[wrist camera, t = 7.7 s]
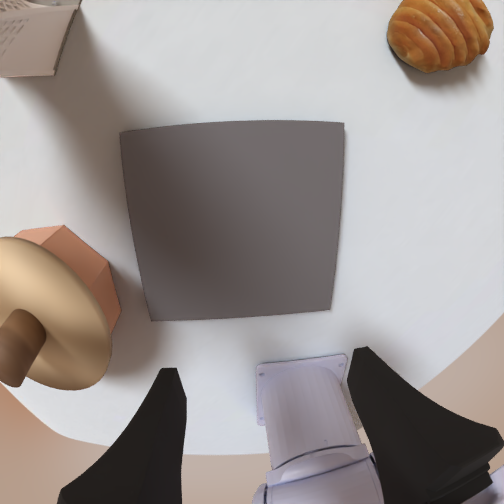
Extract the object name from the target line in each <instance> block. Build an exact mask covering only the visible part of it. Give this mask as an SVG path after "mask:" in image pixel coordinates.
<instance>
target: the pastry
mask: <svg viewBox="0 0 504 504" xmlns="http://www.w3.org/2000/svg"><path fill="white" fill-rule="evenodd" d="M493 29H494V27H493V20H492V18H491V15H490V13H489V11H488V9H487V7H486V6H485V4H484V2H483V1H482V0H403V1H402V2H401V4H400V5H399V7H398V9H397V10H396V11H395V13H394V14H393V16H392V17H391V19H390V21H389V25H388V31H387V39H388V43H389V45H390V46H391V47H392V49H393V50H394V52H395V53H396V54H397V56H398V57H399V58H400V59H401V60H402V61H404V62H405V63H407V64H409V65H410V66H412V67H415V68H417V69H419V70H421V71H423V72H425V73H430V72H435V71H437V70H450V69H451V68H453V67H457V66H467V65H468V64H469V63H471V62H472V61H473V60H474V58H475V57H476V56H477V55H478V54H481V55H482V54H485V52H486V51H487V49H488V47H489V44H490V41H489V39H490V36H491V33H492V31H493Z"/></svg>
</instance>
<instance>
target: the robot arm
mask: <svg viewBox="0 0 504 504" xmlns="http://www.w3.org/2000/svg"><path fill="white" fill-rule="evenodd" d="M340 363H341V364H340ZM346 363H347V357H346V355H344V354H341V355H334V356H327V357H320V358H313V359H305V360H296V361H287V362H277V363H266V364H259V365H257V367H256V395H257V424H258V425H260V426H264V425H265V426H266V433H267V439H268V446H269V453H270V460H271V467H272V471H269V472H266V479H267V483H265V484H261V485H260V486H259V487H258V489H257V491H256V492H255V494H254V496H253V500H252V504H504V465H503V466H501V467H500V468H498V469H497V470H495V471H494V472H493V473H492V474H490V475H489V473H488V470H489V469H490V466H489V464H488V462H489V461H490V460H491V459H492V458H493V457H494V456H495V455H496V454H497V453H498V452H499V451H500V450H501V449H502V448H503V446H504V440H503V439H502V437H501V436H500V434H499V432H498V430H497V429H496V428H493V427H490V426H486V425H483V424H480V423H476V422H474V421H471V420H469V419H466V418H464V417H462V416H460V415H457V414H455V413H453V412H451V411H449V410H447V409H446V408H444V407H442V406H440V405H438V404H437V403H435V402H434V401H432V400H431V399H429V398H427V397H426V396H424V395H423V394H422V393H420V392H419V391H418V390H416V389H415V388H414V387H412V386H411V385H410V384H409V383H407V382H406V381H405V380H404V379H403V378H402V377H400V376H399V375H398V374H397V373H396V372H395V371H394V370H392V369H391V368H390V367H389V366H388V365H387V364H386V363H385V362H384V361H383V360H382V359H381V358H379V357H378V356H377V355H376V354H375V353H374V352H373V351H372V350H371V349H370V348H369V347H368V346H367V347H362V348H356V349H354V352H353V356H352V361H351V365H350V369H349V373H348V378H347V383H348V387H349V391H350V394H351V398H352V401H353V404H354V406H355V408H356V411H357V413H358V415H359V418H360V420H361V422H362V425H363V427H364V429H365V432H366V434H367V436H368V439H369V441H370V444H371V447H372V450H373V452H372V453H370V455H369V453H368V450H367V448H366V445H365V444H362V443H361V441H360V438H359V435H358V432H357V430H356V427H355V424H354V422H353V419H352V416H351V413H350V411H349V408H348V406H347V403H346V400H345V398H344V395H343V392H342V390H341V387H340V386H341V382H342V379H343V375H344V371H345V367H346ZM186 420H187V398H186V395H185V392H184V389H183V386H182V383H181V380H180V377H179V374H178V371H177V368H162V369H160V371H159V373H158V375H157V377H156V379H155V381H154V383H153V385H152V387H151V388H150V390H149V392H148V394H147V396H146V397H145V399H144V401H143V402H142V404H141V406H140V407H139V409H138V411H137V412H136V414H135V415H134V417H133V418H132V420H131V421H130V423H129V424H128V425H127V427H126V428H125V430H124V431H123V432H122V434H121V435H120V436H119V437H118V439H117V440H116V441H115V442H114V443H113V445H112V446H111V447H110V448H109V449H108V450H107V451H106V452H105V453H104V454H103V455H102V456H101V457H100V458H99V459H98V461H96V462H95V463H94V464H93V465H92V466H91V467H90V468H88V469H87V470H86V471H85V472H84V473H83V474H81V476H79V477H78V478H76V479H75V480H73V481H72V482H71V483H69V484H68V485H66V486H65V487H63V488H62V489H61V491H60V494H59V497H58V502H57V504H182V491H181V465H182V455H183V446H184V438H185V429H186Z"/></svg>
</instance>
